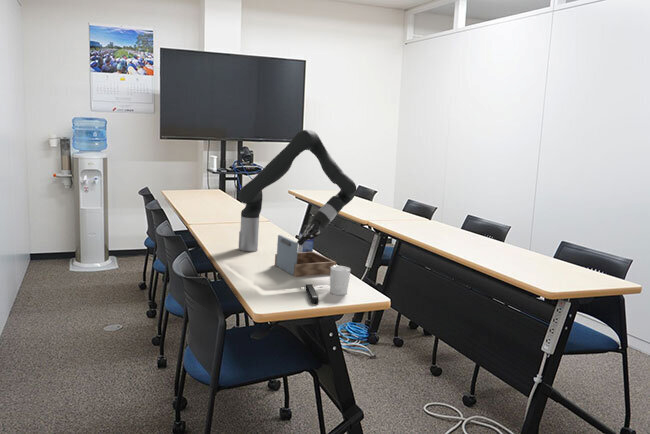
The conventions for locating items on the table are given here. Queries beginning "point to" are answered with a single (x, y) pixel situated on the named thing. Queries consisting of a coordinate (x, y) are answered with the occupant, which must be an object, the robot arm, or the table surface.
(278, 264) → the blue-grey flat rectangular panel
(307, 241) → the ink cartridge box
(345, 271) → the white cup
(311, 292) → the portable electronic device stand
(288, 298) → the table surface
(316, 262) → the wooden tray
